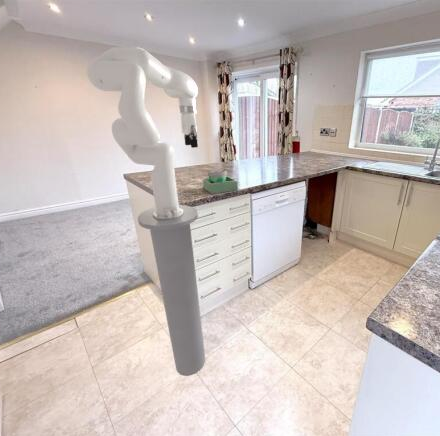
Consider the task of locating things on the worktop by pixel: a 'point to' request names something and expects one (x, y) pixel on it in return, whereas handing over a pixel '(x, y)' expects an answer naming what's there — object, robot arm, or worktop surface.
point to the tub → (220, 185)
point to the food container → (217, 177)
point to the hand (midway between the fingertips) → (191, 146)
